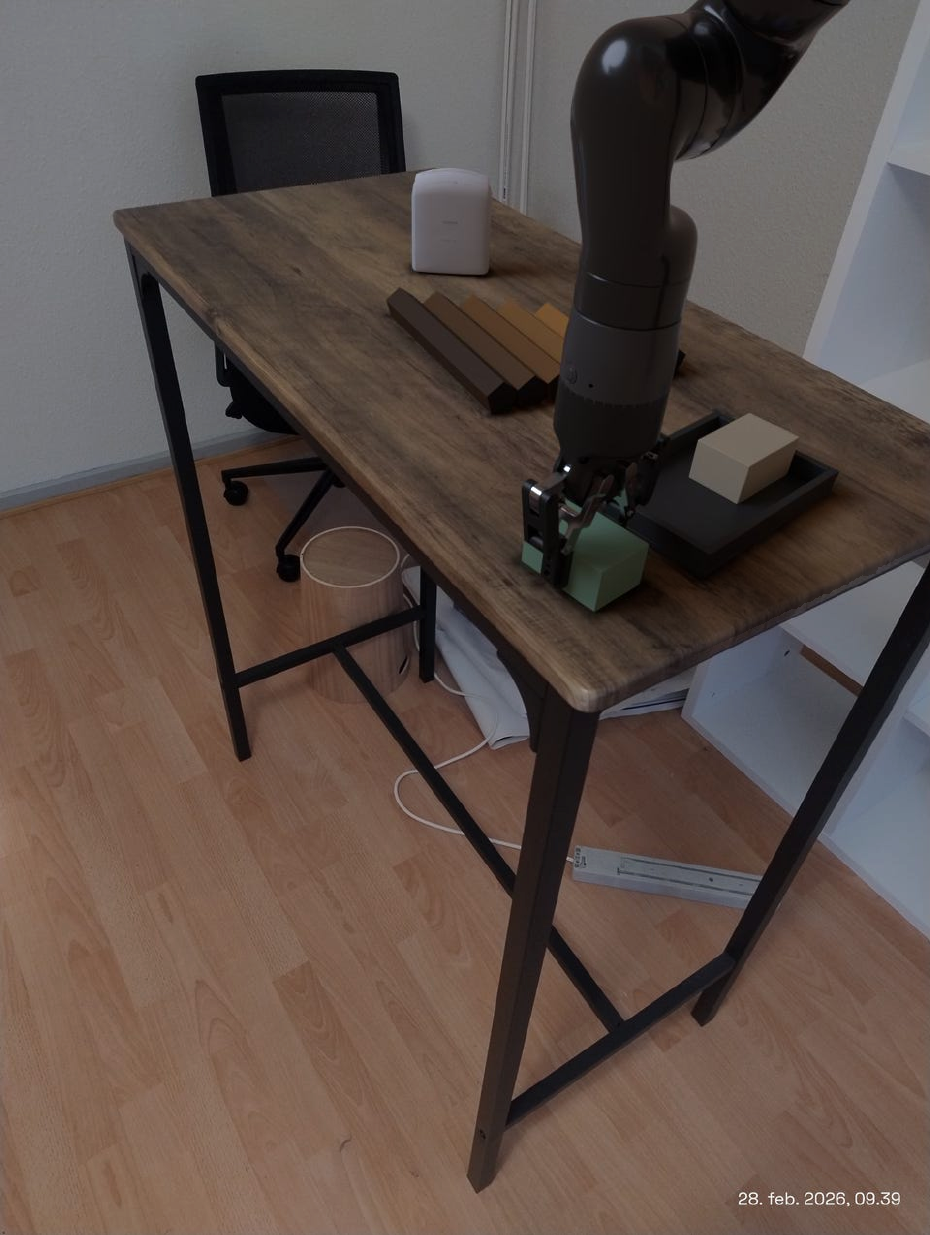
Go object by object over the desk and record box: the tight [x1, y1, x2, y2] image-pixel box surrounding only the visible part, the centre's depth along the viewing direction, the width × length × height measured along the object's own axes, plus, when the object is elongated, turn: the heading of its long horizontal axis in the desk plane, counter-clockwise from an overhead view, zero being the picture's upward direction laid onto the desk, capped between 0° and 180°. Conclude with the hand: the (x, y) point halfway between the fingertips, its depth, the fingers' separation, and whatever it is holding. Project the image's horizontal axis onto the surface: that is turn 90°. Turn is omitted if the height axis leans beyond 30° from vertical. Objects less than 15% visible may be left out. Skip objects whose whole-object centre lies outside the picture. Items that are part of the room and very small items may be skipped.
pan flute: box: [385, 286, 687, 415], centre depth 99 cm, size 25×3×25 cm
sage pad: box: [521, 499, 650, 613], centre depth 69 cm, size 6×8×4 cm
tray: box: [597, 410, 840, 579], centre depth 78 cm, size 14×20×2 cm
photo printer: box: [411, 167, 493, 276], centre depth 111 cm, size 10×4×12 cm, turn 88°
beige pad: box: [689, 412, 801, 504], centre depth 79 cm, size 6×8×4 cm
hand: (581, 566), depth 70 cm, fingers closed on sage pad, 5 cm apart
